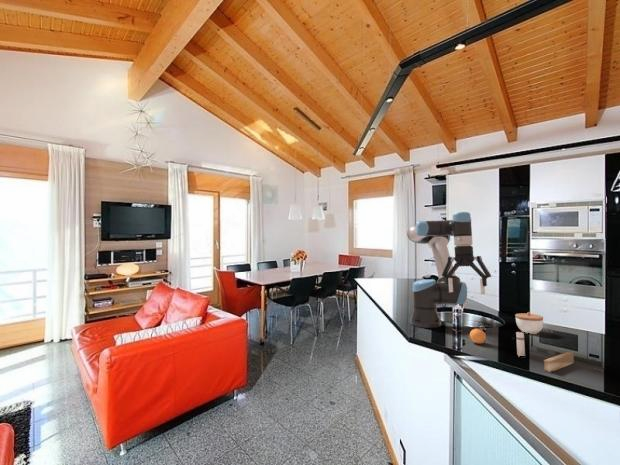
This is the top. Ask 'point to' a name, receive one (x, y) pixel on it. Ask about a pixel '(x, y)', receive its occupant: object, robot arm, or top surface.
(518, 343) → the pin
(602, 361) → the top surface
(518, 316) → the lidded jar
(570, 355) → the wall
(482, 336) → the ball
